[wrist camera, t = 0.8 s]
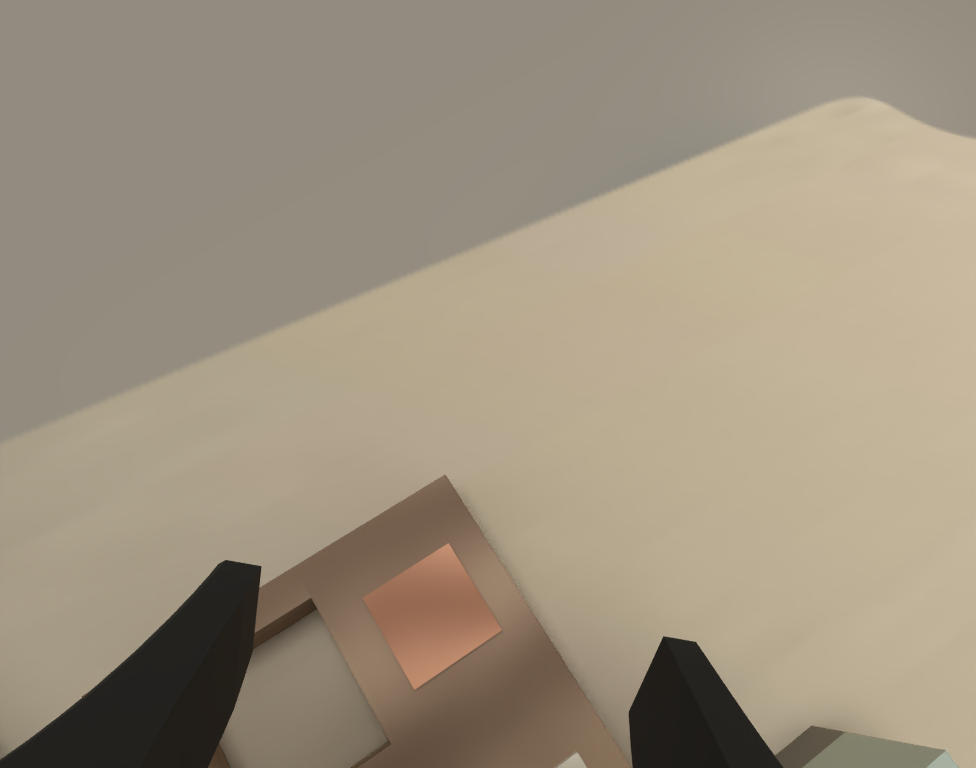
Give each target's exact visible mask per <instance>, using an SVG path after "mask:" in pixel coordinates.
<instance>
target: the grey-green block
mask: <svg viewBox="0 0 976 768" xmlns="http://www.w3.org/2000/svg"><path fill="white" fill-rule="evenodd" d="M775 757H776V758H777V760H778V761H779V762H780V764H781V765H782V766H783V768H959V767H958V765H957V764H956V763H955V762H954V760H953V759H952V758H951V756H950V755H949V754H948V752H947V751H946V750H941V749H936V748H930V747H925V746H919V745H913V744H908V743H902V742H897V741H891V740H886V739H880V738H875V737H869V736H864V735H858V734H853V733H847V732H842V731H836V730H831V729H825V728H820V727H814V726H811V727H810V728H809V729H807V730H806V731H805V732H804V733H803V734H801V735H800V736H799V737H798V738H796V739H795V740H794V741H793V742H791V743H790V744H789V745H788V746H787V747H785V748H784V749H783V750H782V751H780V752H779V753H778V754H777V755H776V756H775Z"/></svg>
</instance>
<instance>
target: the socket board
mask: <svg viewBox="0 0 976 768" xmlns="http://www.w3.org/2000/svg"><path fill="white" fill-rule="evenodd" d="M316 609H318V611H319V613H320V615H321V617H322V618H323V620H324V622H325V624H326V626H327V628H328V629H329V631H330V633H331V635H332V637H333V639H334V640H335V642H336V644H337V646H338V648H339V650H340V652H341V653H342V655H343V657H344V659H345V661H346V663H347V664H348V666H349V668H350V670H351V672H352V674H353V675H354V677H355V679H356V681H357V683H358V685H359V686H360V688H361V690H362V692H363V694H364V696H365V697H366V699H367V701H368V703H369V705H370V707H371V708H372V710H373V712H374V714H375V716H376V718H377V719H378V721H379V723H380V725H381V727H382V729H383V731H384V732H385V734H386V736H387V738H388V740H389V741H388V742H387V743H385V744H384V745H383V746H381V747H380V748H378V749H377V750H375V751H374V752H372V753H371V754H370V755H368V756H367V757H365V758H364V759H362V760H361V761H360V762H358V763H357V764H355V765H354V766H352V767H351V768H631V767H630V765H629V764H628V762H627V760H626V759H625V757H624V756H623V754H622V753H621V751H620V749H619V748H618V746H617V745H616V743H615V741H614V740H613V738H612V737H611V735H610V734H609V732H608V730H607V729H606V727H605V726H604V724H603V723H602V721H601V719H600V718H599V716H598V715H597V713H596V711H595V710H594V708H593V707H592V705H591V704H590V702H589V700H588V699H587V697H586V696H585V694H584V693H583V691H582V689H581V688H580V686H579V685H578V683H577V681H576V680H575V678H574V677H573V675H572V674H571V672H570V670H569V669H568V667H567V666H566V664H565V663H564V661H563V659H562V658H561V656H560V655H559V653H558V651H557V650H556V648H555V647H554V645H553V644H552V642H551V640H550V639H549V637H548V636H547V634H546V633H545V631H544V629H543V628H542V626H541V625H540V623H539V622H538V620H537V618H536V617H535V615H534V614H533V612H532V610H531V609H530V607H529V606H528V604H527V603H526V601H525V599H524V598H523V596H522V595H521V593H520V592H519V590H518V588H517V587H516V585H515V584H514V582H513V580H512V579H511V577H510V576H509V574H508V573H507V571H506V569H505V568H504V566H503V565H502V563H501V562H500V560H499V558H498V557H497V555H496V554H495V552H494V550H493V549H492V547H491V546H490V544H489V543H488V541H487V539H486V538H485V536H484V535H483V533H482V532H481V530H480V528H479V527H478V525H477V524H476V522H475V520H474V519H473V517H472V516H471V514H470V513H469V511H468V509H467V508H466V506H465V505H464V503H463V502H462V500H461V498H460V497H459V495H458V494H457V492H456V490H455V489H454V487H453V486H452V484H451V483H450V481H449V479H448V478H447V476H446V475H444V476H442V477H440V478H439V479H437V480H435V481H434V482H432V483H431V484H429V485H427V486H426V487H424V488H422V489H421V490H419V491H417V492H416V493H414V494H412V495H411V496H409V497H408V498H406V499H404V500H403V501H401V502H399V503H398V504H396V505H394V506H393V507H391V508H390V509H388V510H386V511H385V512H383V513H381V514H380V515H378V516H376V517H375V518H373V519H372V520H370V521H368V522H367V523H365V524H363V525H362V526H360V527H358V528H357V529H355V530H354V531H352V532H350V533H349V534H347V535H345V536H344V537H342V538H340V539H339V540H337V541H335V542H334V543H332V544H331V545H329V546H327V547H326V548H324V549H322V550H321V551H319V552H317V553H316V554H314V555H313V556H311V557H309V558H308V559H306V560H304V561H303V562H301V563H299V564H298V565H296V566H295V567H293V568H291V569H290V570H288V571H286V572H285V573H283V574H281V575H280V576H278V577H277V578H275V579H273V580H272V581H270V582H268V583H267V584H265V585H263V586H262V587H260V588H259V594H258V604H257V614H256V624H255V633H254V643H253V649H254V648H255V647H257V646H258V645H260V644H262V643H263V642H265V641H266V640H268V639H270V638H271V637H273V636H274V635H276V634H278V633H279V632H281V631H282V630H284V629H285V628H287V627H289V626H290V625H292V624H293V623H295V622H297V621H298V620H300V619H301V618H303V617H304V616H306V615H308V614H309V613H311V612H312V611H314V610H316ZM88 693H89V692H88ZM85 695H86V694H85ZM85 695H83V696H82V697H84V696H85ZM208 768H230V766H229V764H228V762H227V760H226V758H225V756H224V754H223V752H222V750H221V747H220V745H219V744H218V746H217V748H216V751H215V753H214V755H213V758H212V760H211V762H210V764H209V767H208Z"/></svg>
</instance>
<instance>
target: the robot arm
mask: <svg viewBox="0 0 976 768" xmlns="http://www.w3.org/2000/svg"><path fill="white" fill-rule="evenodd" d="M260 575H261V566H257V565H251V564H245V563H240V562H234V561H228V560H225V561H223V562H221V563H220V564H218V565H217V566H216V568H215V569H214V570H213V571H212V572H211V574H210V575H209V576H208V577H207V578H206V579H205V581H204V582H203V583H202V584H201V585H200V586H199V587H198V588H197V590H196V591H195V592H194V593H193V594H192V595H191V596H190V597H189V598H188V599H187V600H186V601H185V602H184V603H183V605H182V606H181V607H180V608H179V609H178V610H177V611H176V612H175V613H174V614H173V615H172V616H171V617H170V618H169V619H168V620H167V621H166V622H165V623H164V624H163V625H162V626H161V627H160V628H159V629H158V630H157V631H156V632H155V633H154V634H153V635H152V636H151V637H149V638H148V639H147V640H146V641H145V642H144V643H143V644H142V645H141V646H140V647H139V648H138V649H137V650H136V651H135V652H134V653H133V654H132V655H131V656H130V657H128V658H127V659H126V660H125V661H124V662H123V663H122V664H121V665H119V666H118V667H117V668H116V669H115V670H114V671H113V672H111V673H110V674H109V675H108V676H107V677H106V678H105V679H103V680H102V681H101V682H100V683H99V684H98V685H97V686H95V687H94V688H93V689H92V690H91V691H90V692H89V693H87V694H86V695H85V696H84V697H82V698H81V699H80V700H79V701H78V702H76V703H75V704H74V705H73V706H71V707H70V708H69V709H68V710H66V711H65V712H64V713H63V714H61V715H60V716H59V717H58V718H56V719H55V720H54V721H52V722H51V723H50V724H49V725H47V726H46V727H45V728H43V729H42V730H41V731H39V732H38V733H37V734H35V735H34V736H33V737H31V738H30V739H29V740H27V741H26V742H25V743H23V744H22V745H20V746H19V747H18V748H16V749H15V750H13V751H12V752H10V753H9V754H8V755H6V756H5V757H3V758H2V759H1V760H0V768H208V767H209V764H210V762H211V760H212V758H213V755H214V753H215V751H216V748H217V746H218V744H219V742H220V739H221V737H222V735H223V733H224V730H225V728H226V726H227V724H228V721H229V719H230V717H231V714H232V712H233V710H234V707H235V704H236V701H237V698H238V695H239V692H240V689H241V686H242V683H243V680H244V676H245V673H246V670H247V667H248V664H249V661H250V658H251V654H252V651H253V643H254V633H255V624H256V614H257V604H258V594H259V585H260ZM629 725H630V741H631V753H632V764H633V768H783V766H782V765H781V764H780V762H779V761H778V760H777V758H776V757H775V756H774V754H773V753H772V751H771V750H770V749H769V747H768V746H767V745H766V743H765V742H764V740H763V739H762V738H761V736H760V735H759V733H758V732H757V731H756V729H755V728H754V726H753V725H752V723H751V722H750V721H749V719H748V718H747V716H746V715H745V713H744V712H743V711H742V709H741V708H740V706H739V705H738V703H737V702H736V700H735V699H734V697H733V696H732V694H731V693H730V691H729V690H728V689H727V687H726V686H725V684H724V683H723V681H722V680H721V678H720V677H719V675H718V674H717V672H716V671H715V669H714V668H713V666H712V665H711V663H710V662H709V660H708V659H707V657H706V656H705V654H704V653H703V652H702V650H701V649H700V647H699V646H698V644H697V643H696V642H693V641H687V640H681V639H676V638H670V637H664V636H663V639H662V641H661V643H660V645H659V647H658V649H657V652H656V654H655V656H654V658H653V660H652V663H651V665H650V667H649V669H648V671H647V673H646V676H645V678H644V680H643V682H642V684H641V687H640V689H639V691H638V693H637V695H636V697H635V700H634V702H633V704H632V706H631V708H630V711H629Z"/></svg>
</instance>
